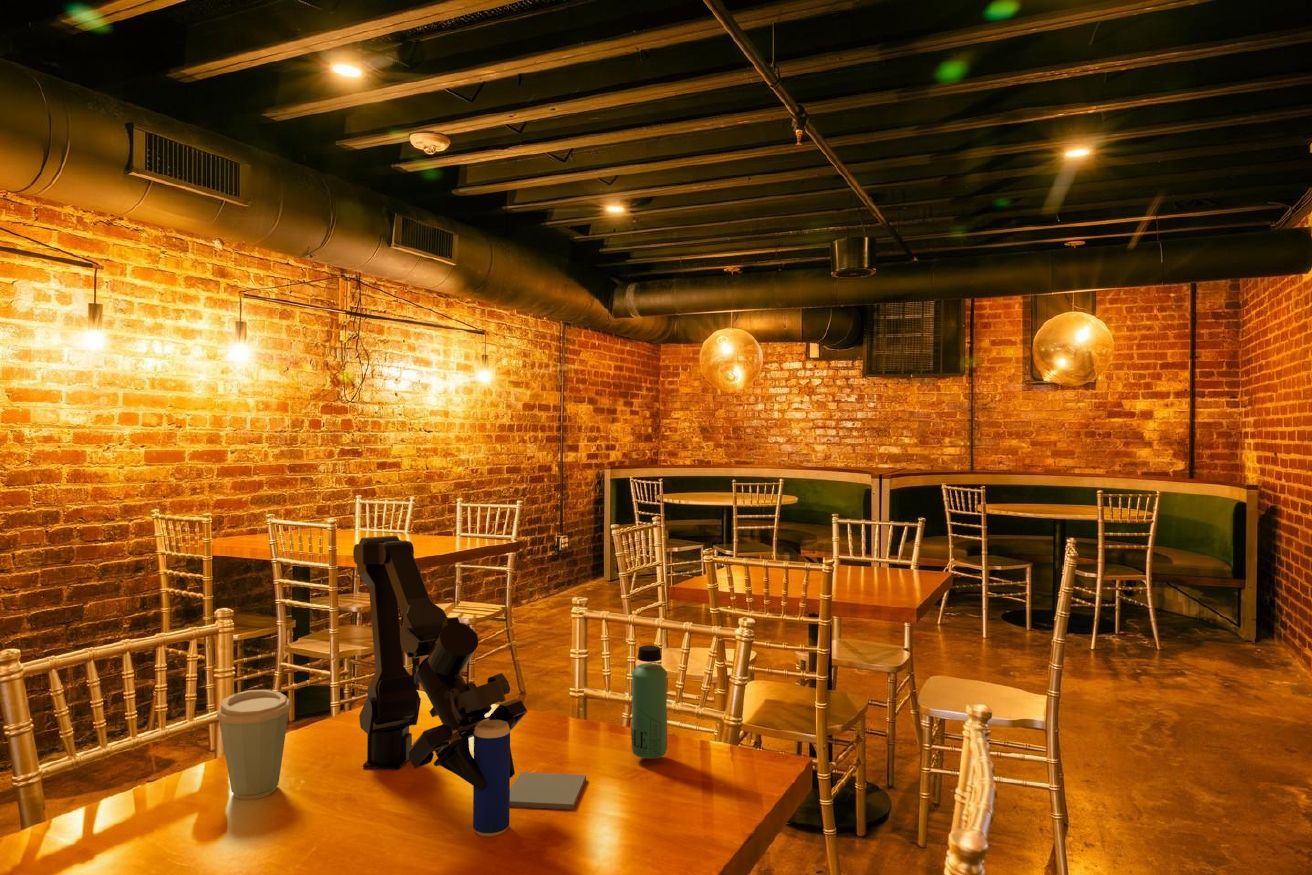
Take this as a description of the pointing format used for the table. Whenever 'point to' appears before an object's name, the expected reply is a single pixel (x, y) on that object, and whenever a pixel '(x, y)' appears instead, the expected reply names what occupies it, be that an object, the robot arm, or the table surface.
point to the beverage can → (492, 778)
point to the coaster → (546, 790)
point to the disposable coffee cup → (254, 740)
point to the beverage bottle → (649, 705)
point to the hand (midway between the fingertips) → (498, 782)
